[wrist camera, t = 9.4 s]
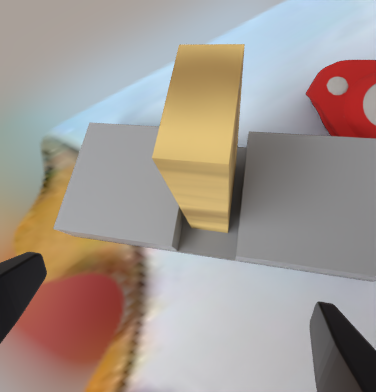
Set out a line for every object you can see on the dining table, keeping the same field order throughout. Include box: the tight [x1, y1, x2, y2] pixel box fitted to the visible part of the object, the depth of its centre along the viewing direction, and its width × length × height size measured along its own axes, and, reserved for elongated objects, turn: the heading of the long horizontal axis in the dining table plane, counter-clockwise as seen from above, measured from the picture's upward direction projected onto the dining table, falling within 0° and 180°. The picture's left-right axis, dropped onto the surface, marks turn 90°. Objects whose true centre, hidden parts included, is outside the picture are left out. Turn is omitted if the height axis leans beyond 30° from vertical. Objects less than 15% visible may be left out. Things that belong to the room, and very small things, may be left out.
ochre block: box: [152, 44, 244, 233], centre depth 16 cm, size 6×3×12 cm, turn 171°
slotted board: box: [53, 123, 376, 281], centre depth 21 cm, size 10×24×3 cm, turn 81°
